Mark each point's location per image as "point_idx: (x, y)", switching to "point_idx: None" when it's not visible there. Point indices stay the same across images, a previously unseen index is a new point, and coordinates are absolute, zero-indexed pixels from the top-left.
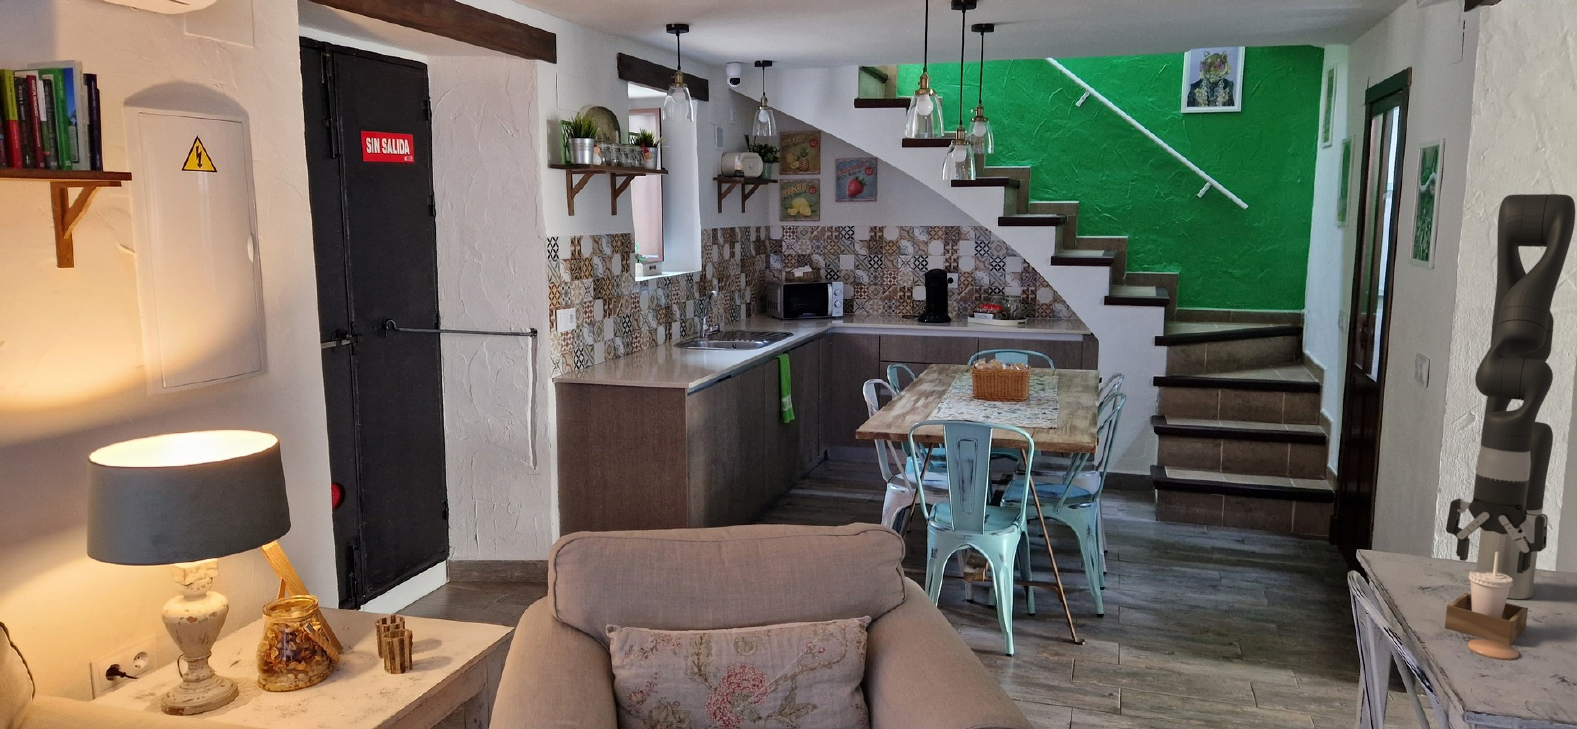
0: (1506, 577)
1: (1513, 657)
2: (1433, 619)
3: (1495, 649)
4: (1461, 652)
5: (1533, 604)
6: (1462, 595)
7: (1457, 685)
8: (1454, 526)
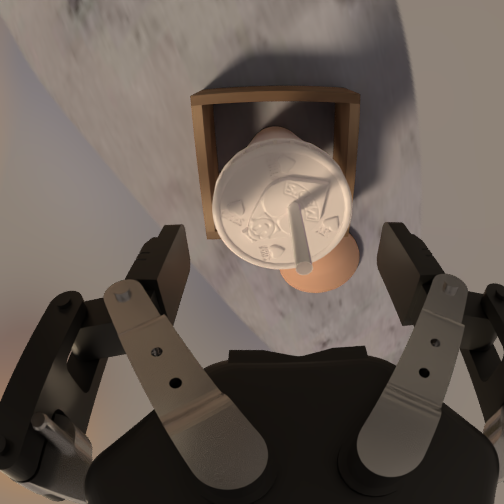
0: (328, 183)
1: (353, 272)
2: (177, 179)
3: (324, 266)
4: (280, 298)
5: None
6: (195, 124)
7: None
8: (101, 376)
